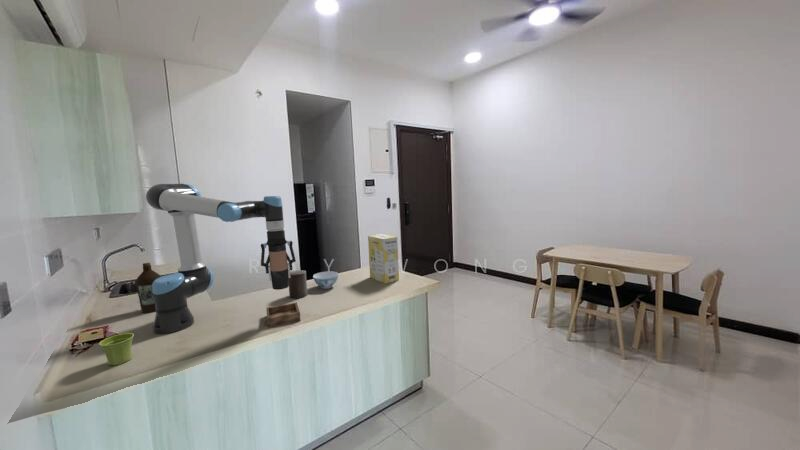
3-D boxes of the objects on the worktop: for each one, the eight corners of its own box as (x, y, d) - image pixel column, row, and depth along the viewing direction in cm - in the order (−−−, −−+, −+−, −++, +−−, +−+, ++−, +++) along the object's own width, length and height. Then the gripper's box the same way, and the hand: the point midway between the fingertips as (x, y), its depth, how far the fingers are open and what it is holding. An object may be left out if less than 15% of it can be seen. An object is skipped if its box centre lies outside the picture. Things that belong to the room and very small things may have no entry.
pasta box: (398, 280, 199) (397, 236, 196) (385, 283, 193) (383, 239, 189) (383, 274, 214) (381, 233, 210) (370, 277, 207) (367, 235, 204)
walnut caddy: (267, 327, 138) (266, 318, 137) (267, 315, 151) (266, 307, 150) (300, 320, 143) (299, 312, 143) (297, 310, 156) (296, 302, 156)
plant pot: (106, 359, 116) (103, 337, 115) (139, 351, 121) (136, 330, 120) (99, 371, 108) (95, 348, 107) (134, 362, 113) (131, 340, 112)
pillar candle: (293, 300, 170) (291, 273, 169) (287, 295, 178) (285, 269, 176) (310, 295, 177) (308, 270, 175) (303, 291, 184) (301, 266, 182)
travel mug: (293, 285, 146) (289, 244, 144) (279, 290, 140) (275, 247, 137) (282, 283, 150) (278, 242, 148) (268, 288, 144) (264, 246, 141)
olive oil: (143, 308, 167) (136, 262, 164) (167, 304, 171) (161, 259, 168) (137, 315, 157) (129, 267, 154) (163, 310, 162) (156, 263, 159)
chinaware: (321, 293, 180) (320, 280, 179) (309, 287, 191) (308, 275, 190) (343, 286, 190) (342, 274, 189) (331, 281, 201) (330, 270, 200)
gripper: (250, 233, 134) (255, 284, 137) (299, 228, 142) (303, 277, 145) (251, 231, 141) (255, 279, 144) (298, 227, 149) (301, 273, 152)
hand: (280, 278), depth 144 cm, fingers closed on travel mug, 8 cm apart
